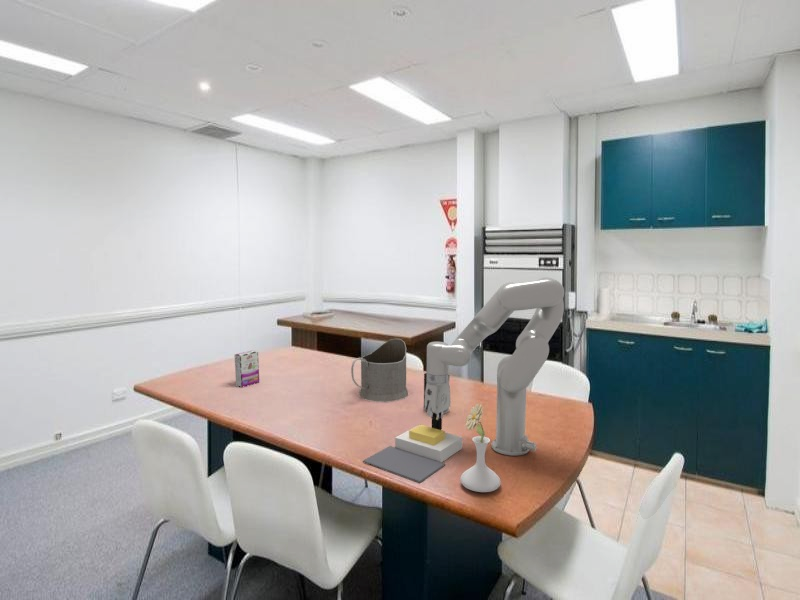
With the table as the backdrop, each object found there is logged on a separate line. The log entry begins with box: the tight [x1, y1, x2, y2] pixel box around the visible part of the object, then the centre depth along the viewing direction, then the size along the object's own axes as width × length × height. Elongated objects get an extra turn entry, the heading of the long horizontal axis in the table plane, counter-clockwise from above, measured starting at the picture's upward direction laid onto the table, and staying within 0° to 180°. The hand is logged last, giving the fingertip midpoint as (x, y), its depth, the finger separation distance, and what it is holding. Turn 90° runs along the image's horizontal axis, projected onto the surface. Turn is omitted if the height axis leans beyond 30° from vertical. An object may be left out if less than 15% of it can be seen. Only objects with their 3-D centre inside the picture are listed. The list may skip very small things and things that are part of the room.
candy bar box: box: [234, 350, 260, 388], centre depth 232 cm, size 11×5×16 cm, turn 147°
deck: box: [394, 425, 463, 463], centre depth 155 cm, size 18×14×4 cm
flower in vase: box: [459, 403, 502, 493], centre depth 128 cm, size 13×11×25 cm
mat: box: [362, 445, 446, 484], centre depth 144 cm, size 22×14×1 cm, turn 53°
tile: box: [409, 424, 446, 445], centre depth 154 cm, size 10×7×2 cm
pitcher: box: [350, 338, 409, 403], centre depth 212 cm, size 23×32×25 cm
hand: (436, 429), depth 159 cm, fingers closed
